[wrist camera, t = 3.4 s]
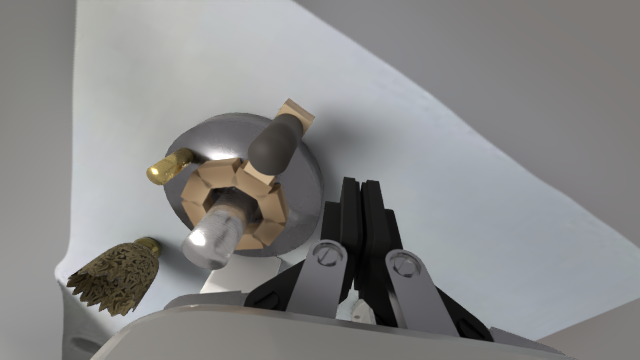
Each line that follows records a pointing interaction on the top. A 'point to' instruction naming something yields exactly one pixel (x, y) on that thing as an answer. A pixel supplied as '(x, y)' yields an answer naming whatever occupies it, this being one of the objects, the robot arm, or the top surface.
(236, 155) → the post base
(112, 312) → the cup
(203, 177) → the wrench
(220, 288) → the medicine bottle
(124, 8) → the top surface
